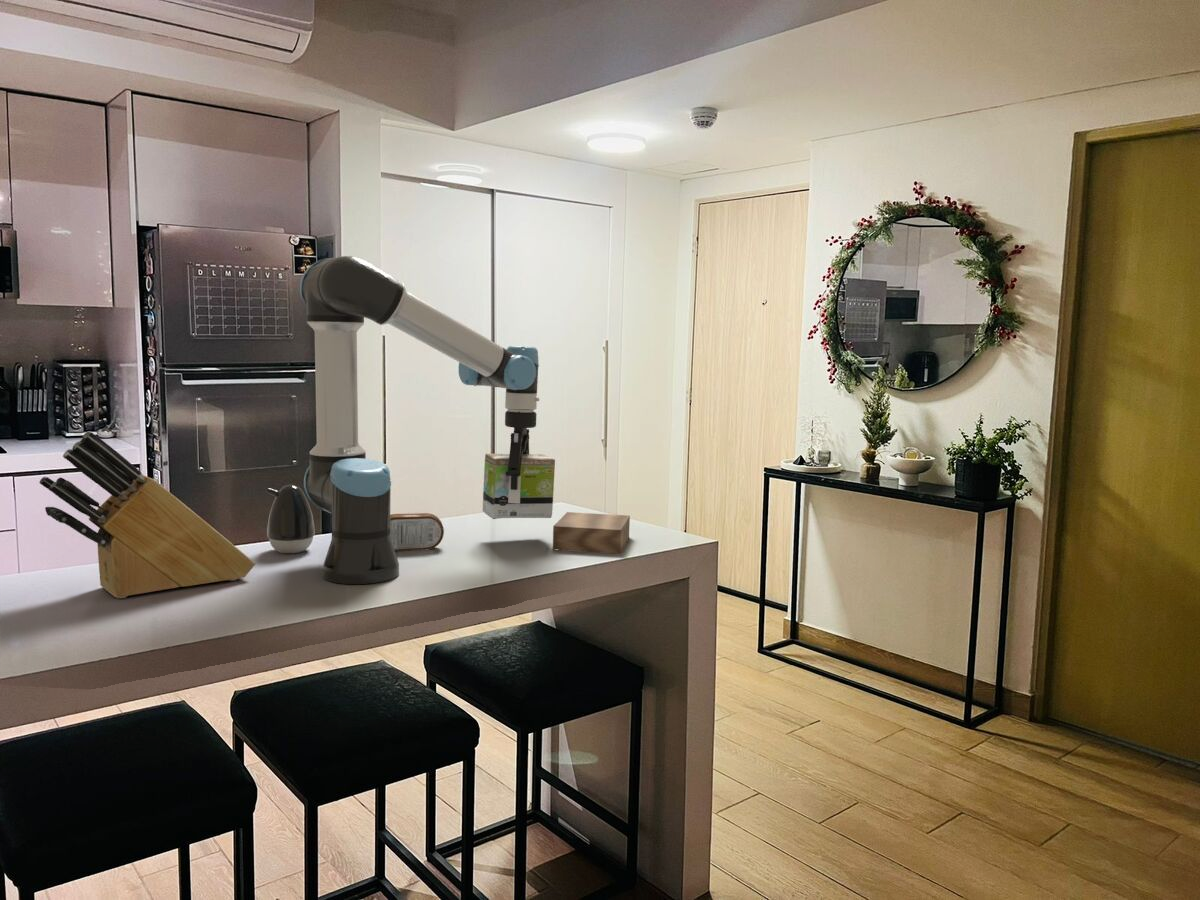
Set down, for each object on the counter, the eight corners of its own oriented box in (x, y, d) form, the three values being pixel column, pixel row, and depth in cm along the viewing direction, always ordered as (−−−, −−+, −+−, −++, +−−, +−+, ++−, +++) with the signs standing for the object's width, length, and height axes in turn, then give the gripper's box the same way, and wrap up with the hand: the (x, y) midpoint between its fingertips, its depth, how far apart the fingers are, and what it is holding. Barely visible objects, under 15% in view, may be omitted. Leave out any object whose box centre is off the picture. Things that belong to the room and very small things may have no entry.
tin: (442, 546, 218) (442, 511, 217) (444, 549, 215) (445, 514, 214) (377, 549, 214) (377, 513, 213) (378, 553, 211) (378, 516, 210)
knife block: (42, 595, 171) (34, 428, 167) (235, 567, 194) (232, 420, 190) (56, 610, 163) (47, 434, 159) (256, 579, 186) (253, 425, 182)
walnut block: (552, 551, 218) (553, 526, 218) (566, 535, 236) (567, 512, 235) (620, 555, 216) (621, 530, 215) (629, 539, 234) (629, 515, 233)
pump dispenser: (273, 545, 215) (272, 480, 213) (319, 546, 216) (318, 481, 214) (261, 556, 205) (259, 488, 203) (309, 556, 206) (308, 488, 204)
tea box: (493, 520, 219) (495, 458, 217) (481, 512, 228) (483, 452, 226) (553, 518, 224) (555, 457, 223) (540, 510, 234) (542, 452, 232)
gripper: (529, 415, 211) (526, 508, 213) (542, 408, 235) (539, 491, 238) (496, 413, 211) (494, 506, 214) (513, 406, 236) (510, 490, 238)
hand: (518, 498), depth 226 cm, fingers closed on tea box, 12 cm apart
